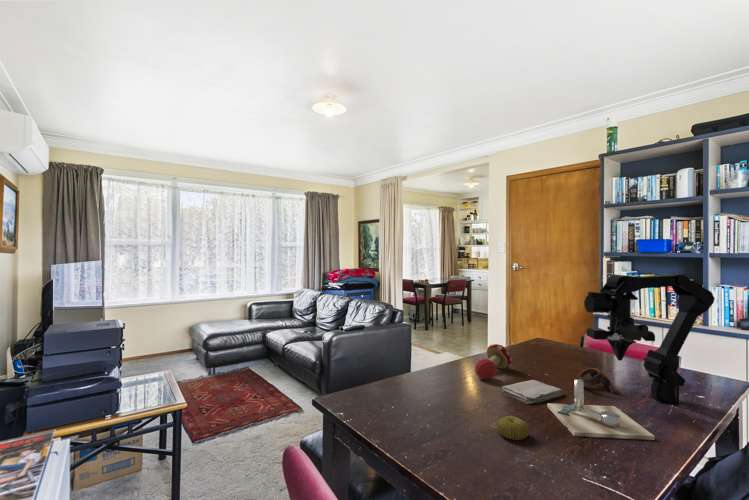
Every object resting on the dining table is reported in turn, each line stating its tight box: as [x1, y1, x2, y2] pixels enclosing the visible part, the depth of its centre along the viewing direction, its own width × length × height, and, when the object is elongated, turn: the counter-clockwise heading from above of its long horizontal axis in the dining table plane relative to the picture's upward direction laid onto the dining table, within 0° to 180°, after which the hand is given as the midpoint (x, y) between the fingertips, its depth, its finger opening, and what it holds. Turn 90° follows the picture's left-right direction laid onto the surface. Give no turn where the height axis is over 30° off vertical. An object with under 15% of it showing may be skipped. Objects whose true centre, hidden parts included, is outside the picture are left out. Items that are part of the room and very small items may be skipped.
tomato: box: [474, 358, 497, 381], centre depth 137 cm, size 8×8×8 cm
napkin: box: [546, 403, 656, 441], centre depth 103 cm, size 20×18×1 cm
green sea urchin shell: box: [496, 415, 530, 441], centre depth 96 cm, size 8×4×8 cm
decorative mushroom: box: [486, 343, 513, 370], centre depth 147 cm, size 11×11×15 cm
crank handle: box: [565, 378, 620, 428], centre depth 103 cm, size 14×4×10 cm, turn 41°
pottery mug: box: [578, 367, 614, 394], centre depth 129 cm, size 12×10×8 cm
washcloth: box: [501, 379, 564, 405], centre depth 123 cm, size 12×18×3 cm, turn 119°
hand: (619, 360), depth 119 cm, fingers closed
